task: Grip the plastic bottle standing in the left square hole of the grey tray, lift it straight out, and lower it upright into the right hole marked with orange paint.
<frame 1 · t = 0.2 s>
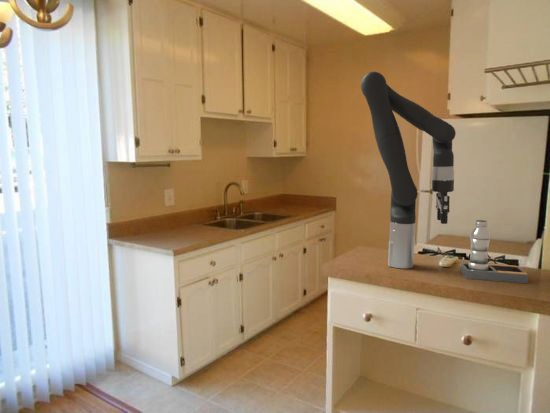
hand: (442, 221, 149), 18 cm above the table, tool pointing down, fingers open, 8 cm apart
plastic bottle: (477, 276, 142), resting in grey tray
grey tray: (492, 276, 141), on the table
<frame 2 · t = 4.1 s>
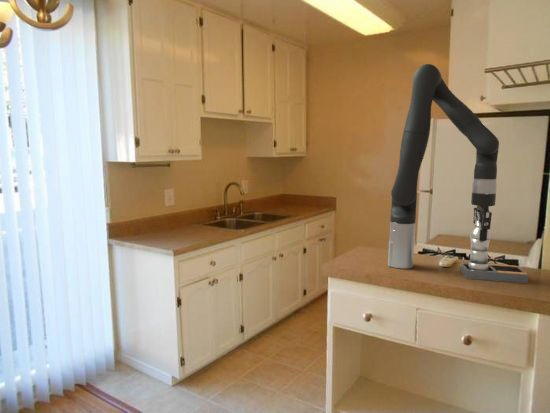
hand: (480, 238, 141), 14 cm above the table, tool pointing down, fingers closed on plastic bottle, 6 cm apart
plastic bottle: (477, 276, 142), resting in grey tray, touching gripper
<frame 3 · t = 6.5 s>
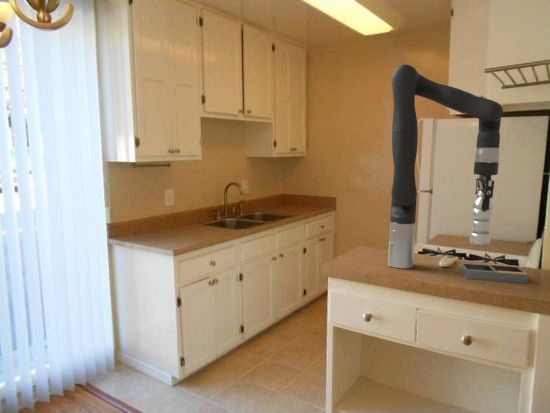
hand: (482, 208, 139), 24 cm above the table, tool pointing down, fingers closed on plastic bottle, 6 cm apart
plastic bottle: (479, 246, 141), point 11 cm above the table, touching gripper
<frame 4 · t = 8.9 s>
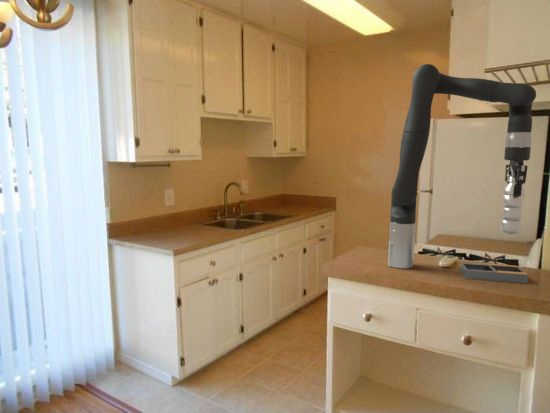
hand: (513, 195, 136), 30 cm above the table, tool pointing down, fingers closed on plastic bottle, 6 cm apart
plastic bottle: (510, 234, 138), point 16 cm above the table, touching gripper
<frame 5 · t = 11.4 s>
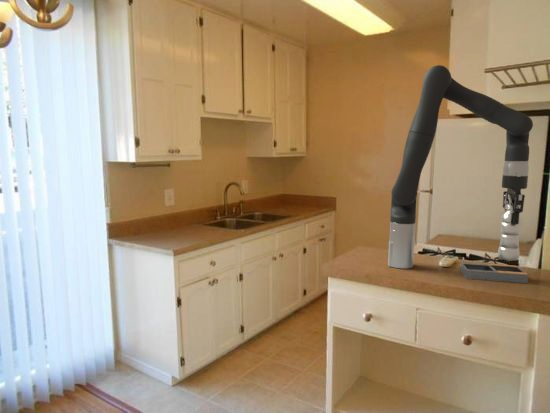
hand: (511, 222, 138), 20 cm above the table, tool pointing down, fingers closed on plastic bottle, 6 cm apart
plastic bottle: (507, 260, 139), point 6 cm above the table, touching gripper
when the fingers open (15 cm above the table, at t = 13.6 s): plastic bottle drops 1 cm, resting in grey tray.
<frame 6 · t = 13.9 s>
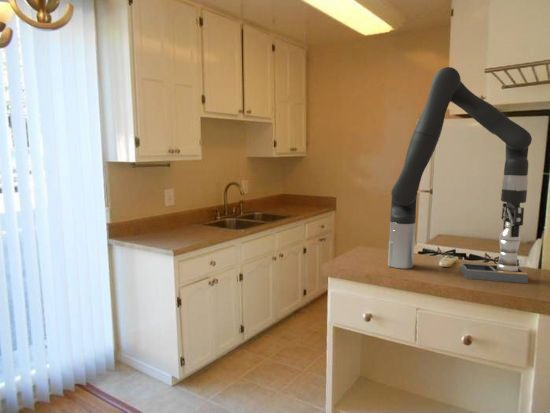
hand: (510, 234, 138), 16 cm above the table, tool pointing down, fingers open, 8 cm apart
plastic bottle: (506, 278, 140), resting in grey tray
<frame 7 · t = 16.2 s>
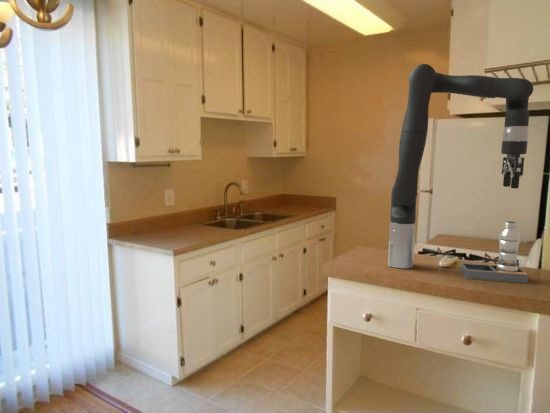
hand: (510, 187, 137), 32 cm above the table, tool pointing down, fingers open, 8 cm apart
nothing on the table moved.
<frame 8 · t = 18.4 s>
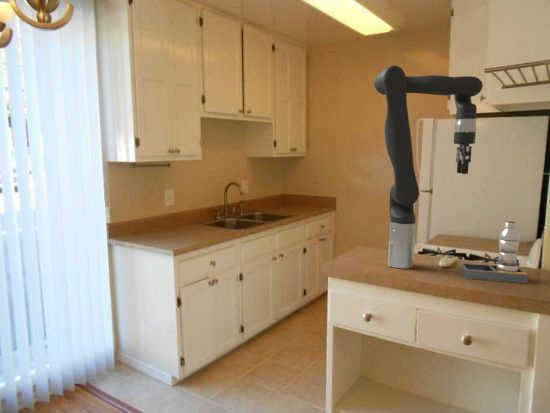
hand: (462, 173, 154), 36 cm above the table, tool pointing down, fingers open, 8 cm apart
nothing on the table moved.
at the end: plastic bottle 0.2 cm from the target spot on the grey tray, point 0.0 cm above the grey tray's base; plastic bottle tilted 0°; the gripper is holding nothing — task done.
